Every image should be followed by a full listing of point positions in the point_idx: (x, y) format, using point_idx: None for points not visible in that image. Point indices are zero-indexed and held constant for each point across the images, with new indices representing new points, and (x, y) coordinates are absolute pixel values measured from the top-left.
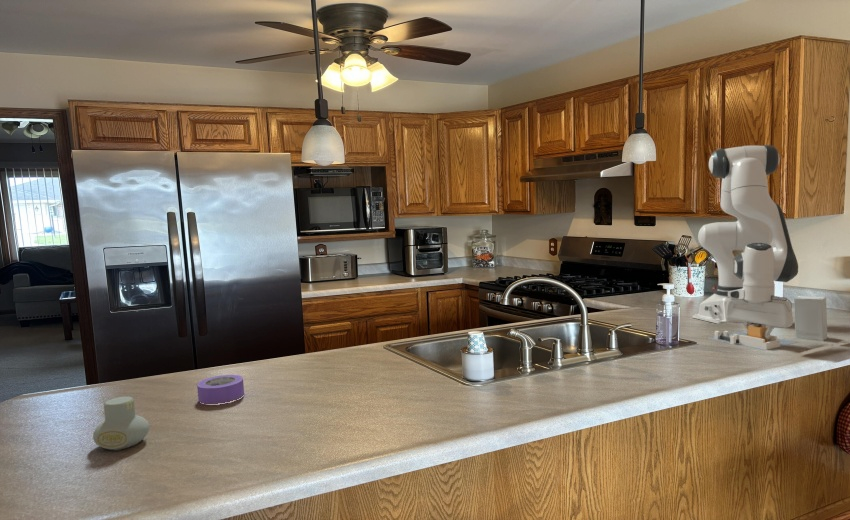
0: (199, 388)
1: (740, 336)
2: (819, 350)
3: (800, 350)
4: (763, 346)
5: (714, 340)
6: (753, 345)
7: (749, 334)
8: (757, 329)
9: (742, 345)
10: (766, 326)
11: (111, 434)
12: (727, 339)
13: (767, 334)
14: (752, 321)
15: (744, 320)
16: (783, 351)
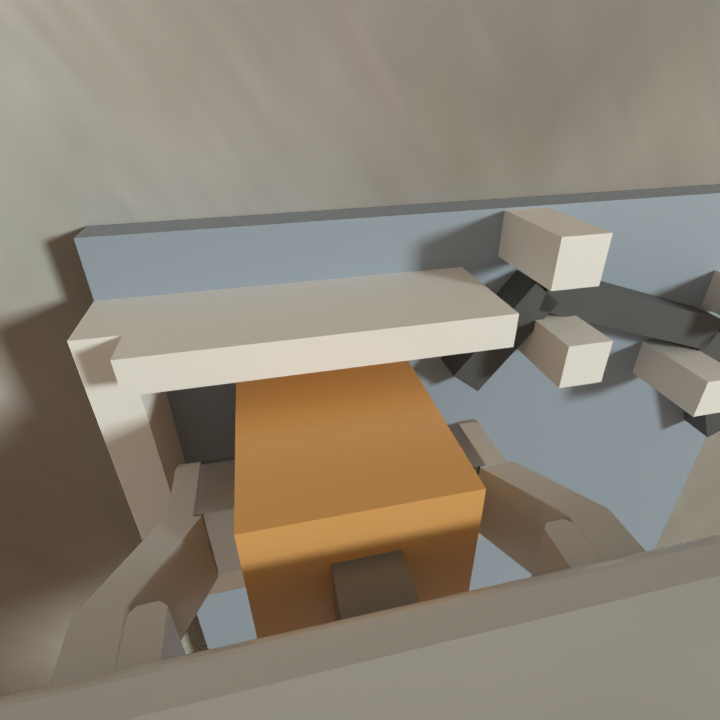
0: None
1: (492, 309)
2: (12, 675)
3: (66, 587)
4: (130, 311)
5: None
6: (279, 291)
7: (409, 400)
8: (293, 496)
9: (403, 243)
10: (143, 637)
11: None
12: (624, 291)
13: (174, 519)
14: (451, 613)
15: (629, 567)
16: (90, 467)
